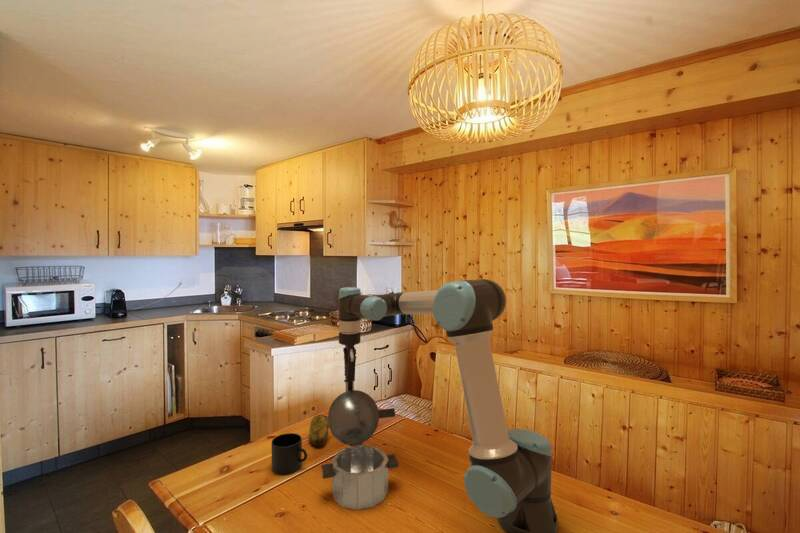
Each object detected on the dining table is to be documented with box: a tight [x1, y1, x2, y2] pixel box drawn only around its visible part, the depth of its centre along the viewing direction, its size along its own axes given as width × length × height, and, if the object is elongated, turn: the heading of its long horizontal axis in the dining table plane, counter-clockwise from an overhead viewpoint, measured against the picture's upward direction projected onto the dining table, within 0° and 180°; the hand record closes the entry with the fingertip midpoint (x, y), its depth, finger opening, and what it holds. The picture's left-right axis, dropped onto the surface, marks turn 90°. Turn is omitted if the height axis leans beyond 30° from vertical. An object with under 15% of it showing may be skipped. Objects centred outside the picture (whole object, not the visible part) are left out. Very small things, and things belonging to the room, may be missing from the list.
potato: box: [308, 414, 330, 448], centre depth 141 cm, size 8×13×8 cm, turn 172°
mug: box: [271, 432, 308, 476], centre depth 123 cm, size 9×12×9 cm
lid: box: [327, 389, 396, 447], centre depth 124 cm, size 17×22×3 cm
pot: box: [321, 444, 399, 511], centre depth 112 cm, size 17×22×9 cm
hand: (349, 398), depth 132 cm, fingers closed
